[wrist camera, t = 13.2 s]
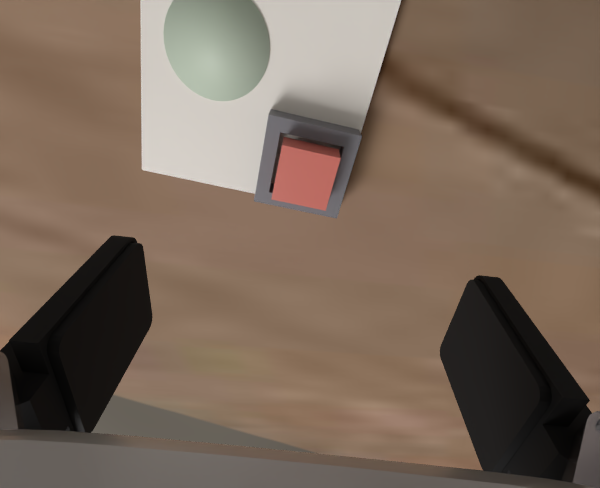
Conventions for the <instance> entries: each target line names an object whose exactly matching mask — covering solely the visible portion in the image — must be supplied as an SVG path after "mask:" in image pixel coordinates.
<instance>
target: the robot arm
mask: <svg viewBox="0 0 600 488" xmlns="http://www.w3.org/2000/svg"><path fill="white" fill-rule="evenodd" d="M151 323H152V309H151V302H150V295H149V287H148V280H147V273H146V265H145V258H144V251H143V246H142V244H140V243H137V241H136V239H135V238H132V237H123V236H111V237H110V238H109V239H108V240H107V241H106V242H105V243H104V244H103V245H102V246H101V247H100V248H99V249H98V250H97V251H96V252H95V253H94V254H93V255H92V256H91V257H90V258H89V259H88V260H87V261H86V262H85V263H84V264H83V265H82V266H81V267H80V268H79V269H78V270H77V271H76V273H75V274H74V275H73V276H72V277H71V278H70V279H69V280H68V281H67V282H66V283H65V284H64V285H63V286H62V287H61V288H60V289H59V290H58V291H57V292H56V293H55V294H54V295H53V296H52V297H51V298H50V299H49V300H48V301H47V302H46V303H45V304H44V305H43V306H42V307H41V308H40V309H39V310H38V311H37V312H36V313H35V314H34V315H33V316H32V317H31V318H30V319H29V320H28V322H27V323H26V324H25V325H24V326H23V327H22V328H21V329H20V330H19V331H18V332H17V333H16V334H15V335H14V336H13V337H12V338H11V339H10V340H9V342H8V343H7V344H6V345H5V346H4V347H3V348H2V349H1V350H0V488H600V411H597V412H594V413H591V411H590V410H589V408H588V407H587V406H586V404H587V403H588V402H589V401H590V400H589V399H588V397H587V396H586V394H585V393H584V392H583V390H582V389H581V388H580V386H579V385H578V383H577V382H576V381H575V379H574V378H573V377H572V375H571V374H570V373H569V371H568V370H567V368H566V367H565V366H564V364H563V363H562V362H561V360H560V359H559V357H558V356H557V355H556V353H555V352H554V351H553V349H552V348H551V346H550V345H549V344H548V342H547V341H546V340H545V338H544V337H543V336H542V334H541V333H540V331H539V330H538V329H537V327H536V326H535V325H534V323H533V322H532V320H531V319H530V318H529V316H528V315H527V314H526V312H525V311H524V309H523V308H522V307H521V305H520V304H519V303H518V301H517V300H516V299H515V297H514V296H513V294H512V293H511V292H510V290H509V289H508V288H507V286H506V285H505V283H504V282H503V281H502V280H501V279H500V278H498V277H489V276H480V275H479V276H476V277H475V278H474V280H470V281H469V282H468V283H467V285H466V288H465V290H464V292H463V295H462V297H461V299H460V302H459V304H458V306H457V309H456V311H455V314H454V316H453V318H452V321H451V323H450V325H449V328H448V330H447V332H446V335H445V337H444V340H443V342H442V344H441V347H440V357H441V360H442V363H443V365H444V368H445V371H446V373H447V376H448V379H449V382H450V384H451V387H452V390H453V392H454V395H455V398H456V400H457V403H458V406H459V408H460V411H461V414H462V416H463V419H464V422H465V424H466V427H467V430H468V432H469V435H470V438H471V440H472V443H473V446H474V448H475V451H476V454H477V456H478V459H479V462H480V465H481V467H482V469H483V470H484V471H481V470H471V469H462V468H452V467H443V466H433V465H424V464H414V463H404V462H395V461H385V460H376V459H366V458H356V457H346V456H336V455H326V454H316V453H306V452H295V451H284V450H275V449H264V448H255V447H245V446H234V445H223V444H213V443H202V442H191V441H180V440H170V439H159V438H148V437H137V436H126V435H113V434H112V435H111V434H99V433H91V432H92V431H93V429H94V427H95V426H96V424H97V422H98V420H99V419H100V417H101V415H102V413H103V411H104V410H105V408H106V406H107V404H108V402H109V401H110V399H111V397H112V395H113V393H114V392H115V390H116V388H117V386H118V384H119V383H120V381H121V379H122V377H123V375H124V374H125V372H126V370H127V368H128V366H129V364H130V363H131V361H132V359H133V357H134V355H135V354H136V352H137V350H138V348H139V346H140V345H141V343H142V341H143V339H144V337H145V336H146V334H147V332H148V330H149V328H150V326H151Z"/></svg>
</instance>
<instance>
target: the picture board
mask: <svg viewBox="0 0 600 488" xmlns="http://www.w3.org/2000/svg"><path fill="white" fill-rule="evenodd" d="M400 3H401V0H141V120H142V170H145V171H150V172H155V173H159V174H164V175H169V176H174V177H178V178H183V179H188V180H192V181H197V182H202V183H207V184H211V185H216V186H221V187H226V188H230V189H235V190H240V191H245V192H249V193H254V194H255V198H254V201H256V202H260V203H265V204H270V205H275V206H280V207H284V208H289V209H294V210H299V211H304V212H308V213H313V214H318V215H323V216H327V217H332V218H337V216H338V213H339V209H340V206H341V203H342V200H343V196H344V193H345V190H346V187H347V183H348V180H349V177H350V174H351V170H352V167H353V164H354V161H355V157H356V154H357V151H358V148H359V144H360V141H361V138H362V135H361V131H362V128H363V124H364V121H365V118H366V114H367V111H368V108H369V105H370V101H371V98H372V95H373V91H374V88H375V85H376V82H377V78H378V75H379V72H380V68H381V65H382V62H383V59H384V55H385V52H386V49H387V46H388V42H389V39H390V36H391V32H392V29H393V26H394V23H395V19H396V16H397V13H398V9H399V6H400ZM284 137H287V138H291V139H296V140H300V141H305V142H309V143H313V144H318V145H322V146H327V147H331V148H335V149H339V153H340V157H341V159H340V162H339V166H338V169H337V173H336V176H335V180H334V183H333V187H332V190H331V194H330V197H329V201H328V204H327V208H326V211H324V210H320V209H315V208H310V207H305V206H301V205H296V204H291V203H286V202H282V201H277V200H272V193H273V188H274V183H275V178H276V173H277V168H278V163H279V158H280V153H281V147H282V143H283V138H284Z"/></svg>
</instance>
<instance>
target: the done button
mask: <svg viewBox="0 0 600 488" xmlns="http://www.w3.org/2000/svg"><path fill="white" fill-rule="evenodd" d="M340 159H341V157H340V153H339V149H335V148H331V147H327V146H322V145H318V144H313V143H309V142H305V141H300V140H296V139H291V138H287V137H284V138H283V143H282V147H281V153H280V158H279V163H278V168H277V173H276V178H275V183H274V188H273V193H272V200H277V201H282V202H286V203H291V204H296V205H301V206H305V207H310V208H315V209H320V210H324V211H326V208H327V204H328V201H329V197H330V194H331V190H332V187H333V183H334V180H335V176H336V173H337V169H338V166H339V162H340Z"/></svg>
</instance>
